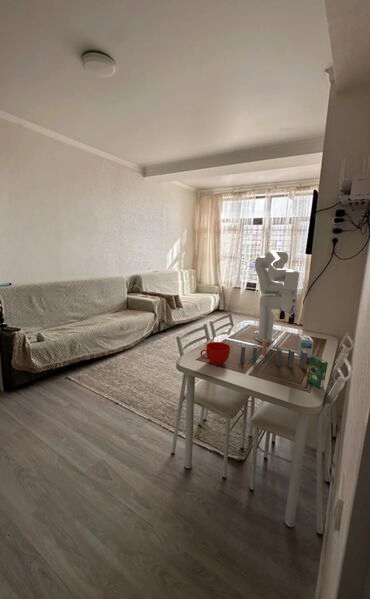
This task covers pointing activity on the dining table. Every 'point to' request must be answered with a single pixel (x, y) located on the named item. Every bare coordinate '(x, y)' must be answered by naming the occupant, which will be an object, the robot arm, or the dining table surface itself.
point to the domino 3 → (264, 347)
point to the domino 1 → (242, 353)
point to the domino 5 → (290, 357)
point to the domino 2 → (254, 354)
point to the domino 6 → (303, 359)
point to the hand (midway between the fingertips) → (286, 321)
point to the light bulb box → (305, 345)
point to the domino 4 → (278, 356)
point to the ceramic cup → (217, 353)
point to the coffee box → (317, 371)
